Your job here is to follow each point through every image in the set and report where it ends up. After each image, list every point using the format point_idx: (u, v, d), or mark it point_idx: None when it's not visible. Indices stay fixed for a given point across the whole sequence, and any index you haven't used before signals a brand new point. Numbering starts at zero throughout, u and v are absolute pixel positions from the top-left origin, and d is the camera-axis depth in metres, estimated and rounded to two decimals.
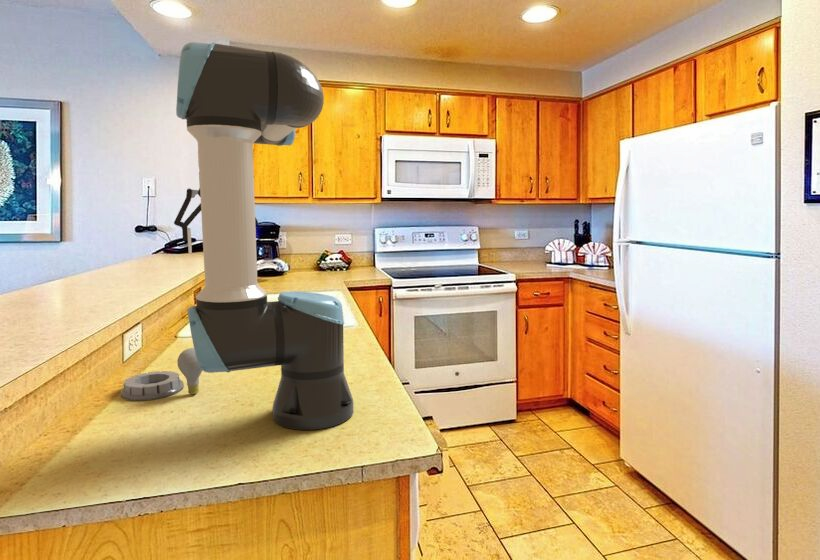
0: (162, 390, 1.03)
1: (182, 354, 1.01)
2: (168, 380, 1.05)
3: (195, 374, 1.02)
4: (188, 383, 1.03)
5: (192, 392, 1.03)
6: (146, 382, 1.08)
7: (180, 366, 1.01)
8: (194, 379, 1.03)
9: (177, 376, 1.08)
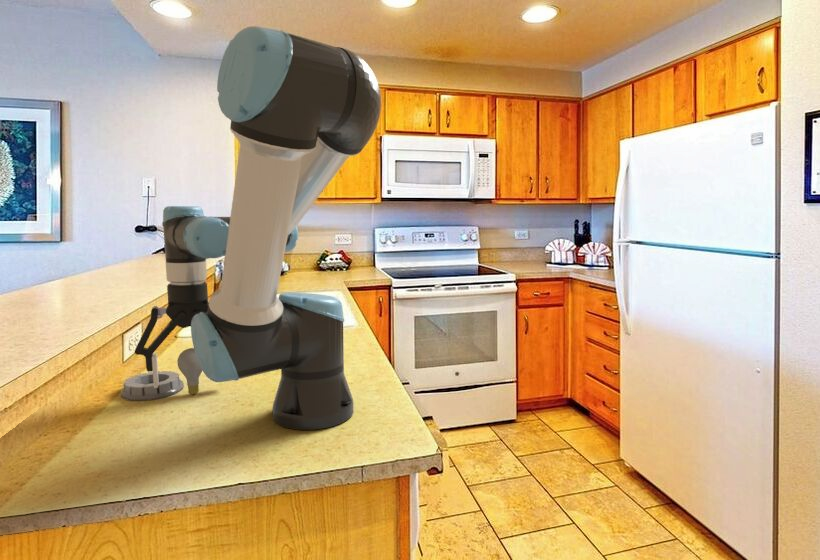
0: (162, 390, 1.03)
1: (182, 354, 1.01)
2: (168, 380, 1.05)
3: (195, 374, 1.02)
4: (188, 383, 1.03)
5: (192, 392, 1.03)
6: (146, 382, 1.08)
7: (180, 366, 1.01)
8: (194, 379, 1.03)
9: (177, 376, 1.08)
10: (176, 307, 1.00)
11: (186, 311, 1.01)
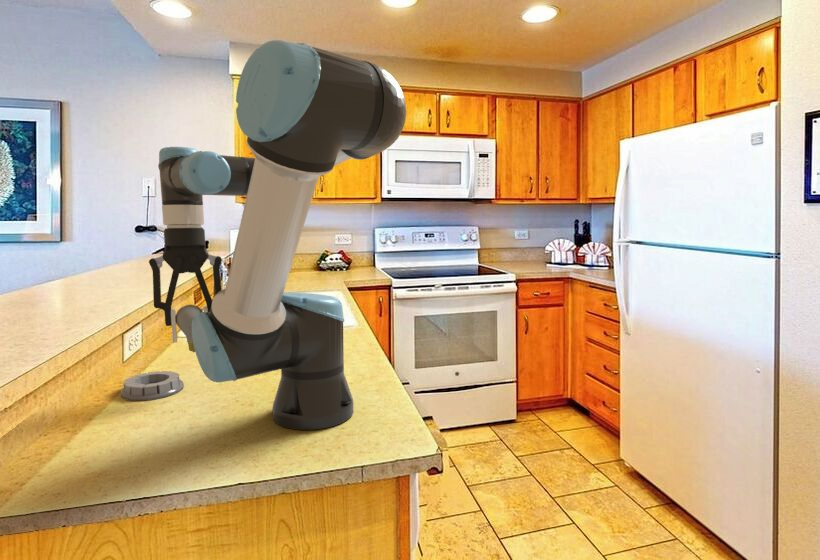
0: (162, 390, 1.03)
1: (180, 310, 1.00)
2: (168, 380, 1.05)
3: None
4: (188, 340, 1.02)
5: (193, 349, 1.02)
6: (146, 382, 1.08)
7: (178, 322, 1.00)
8: None
9: (177, 376, 1.08)
10: (170, 250, 0.98)
11: (182, 250, 0.99)
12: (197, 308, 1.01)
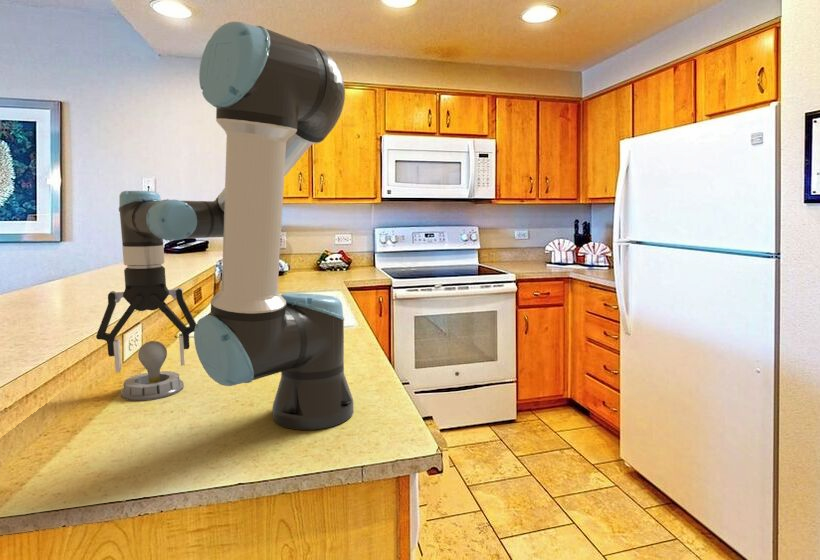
0: (162, 390, 1.03)
1: (143, 347, 1.04)
2: (168, 380, 1.05)
3: (155, 366, 1.05)
4: (149, 375, 1.05)
5: None
6: (146, 382, 1.08)
7: (140, 358, 1.03)
8: (155, 371, 1.05)
9: (177, 376, 1.08)
10: (133, 290, 1.02)
11: (143, 293, 1.03)
12: (160, 345, 1.05)
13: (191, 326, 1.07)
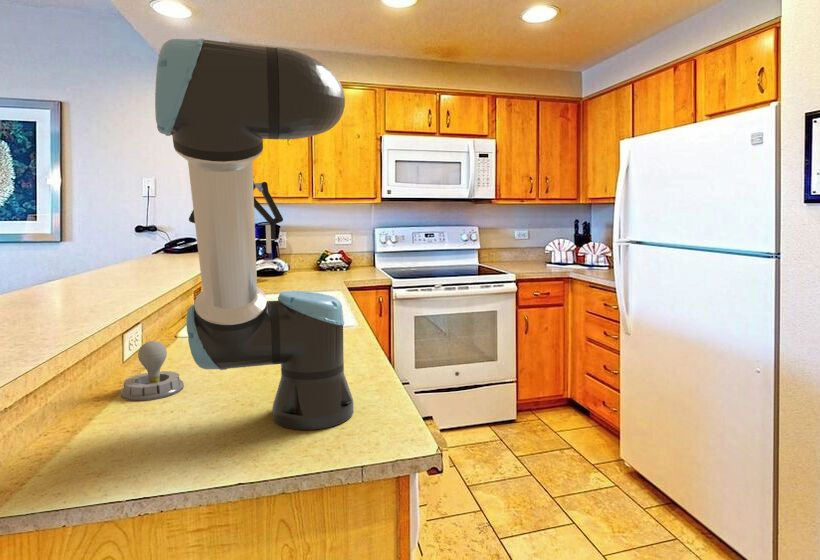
0: (162, 390, 1.03)
1: (143, 347, 1.04)
2: (168, 380, 1.05)
3: (155, 366, 1.05)
4: (149, 376, 1.05)
5: None
6: (146, 382, 1.08)
7: (140, 358, 1.03)
8: (155, 371, 1.05)
9: (177, 376, 1.08)
10: None
11: None
12: (160, 345, 1.05)
13: (277, 217, 1.15)
